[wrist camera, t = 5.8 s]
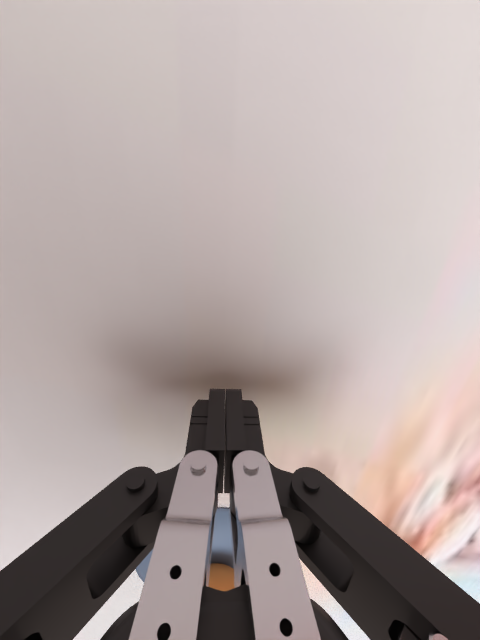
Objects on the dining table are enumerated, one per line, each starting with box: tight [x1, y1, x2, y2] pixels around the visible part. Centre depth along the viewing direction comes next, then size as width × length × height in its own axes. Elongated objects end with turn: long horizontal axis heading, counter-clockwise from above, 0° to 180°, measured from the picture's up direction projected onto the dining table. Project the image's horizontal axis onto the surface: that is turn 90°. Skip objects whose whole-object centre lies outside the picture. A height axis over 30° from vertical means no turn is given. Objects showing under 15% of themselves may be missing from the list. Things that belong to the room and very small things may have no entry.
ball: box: [209, 563, 234, 591], centre depth 19 cm, size 6×6×6 cm
